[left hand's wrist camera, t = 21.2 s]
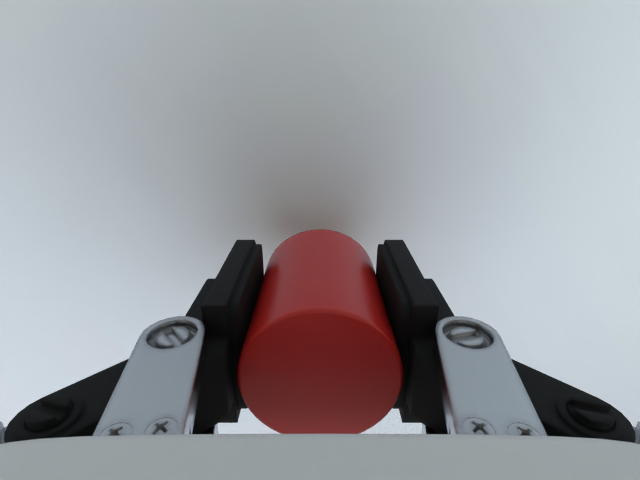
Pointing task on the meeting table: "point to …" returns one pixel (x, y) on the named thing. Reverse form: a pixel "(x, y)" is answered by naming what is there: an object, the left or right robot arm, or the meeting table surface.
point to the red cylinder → (320, 340)
